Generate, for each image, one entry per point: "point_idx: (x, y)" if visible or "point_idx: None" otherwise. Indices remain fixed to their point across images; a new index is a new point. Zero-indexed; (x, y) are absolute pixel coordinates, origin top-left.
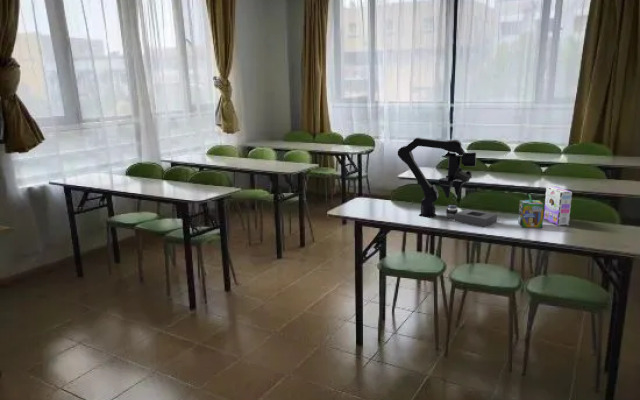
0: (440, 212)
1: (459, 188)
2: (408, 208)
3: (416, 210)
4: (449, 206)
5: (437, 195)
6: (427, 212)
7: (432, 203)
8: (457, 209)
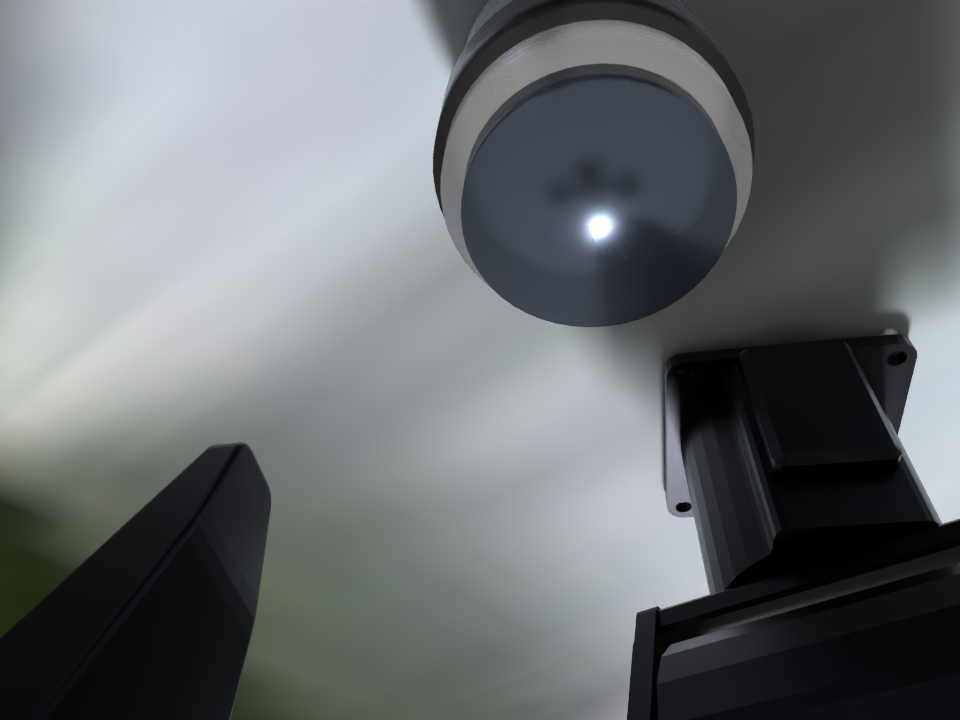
0: (430, 414)
1: (65, 694)
2: (590, 701)
3: (605, 626)
4: (716, 226)
5: (918, 713)
6: (898, 441)
7: (790, 572)
8: (521, 33)
